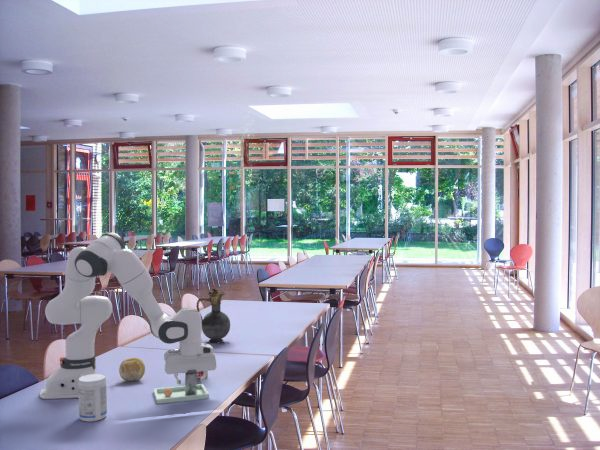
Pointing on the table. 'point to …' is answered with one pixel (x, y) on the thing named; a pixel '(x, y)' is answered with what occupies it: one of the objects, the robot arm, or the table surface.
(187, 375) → the shaker
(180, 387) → the tray
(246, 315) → the table surface
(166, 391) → the ball
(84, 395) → the supplement tub
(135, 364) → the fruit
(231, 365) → the table surface
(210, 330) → the pitcher
